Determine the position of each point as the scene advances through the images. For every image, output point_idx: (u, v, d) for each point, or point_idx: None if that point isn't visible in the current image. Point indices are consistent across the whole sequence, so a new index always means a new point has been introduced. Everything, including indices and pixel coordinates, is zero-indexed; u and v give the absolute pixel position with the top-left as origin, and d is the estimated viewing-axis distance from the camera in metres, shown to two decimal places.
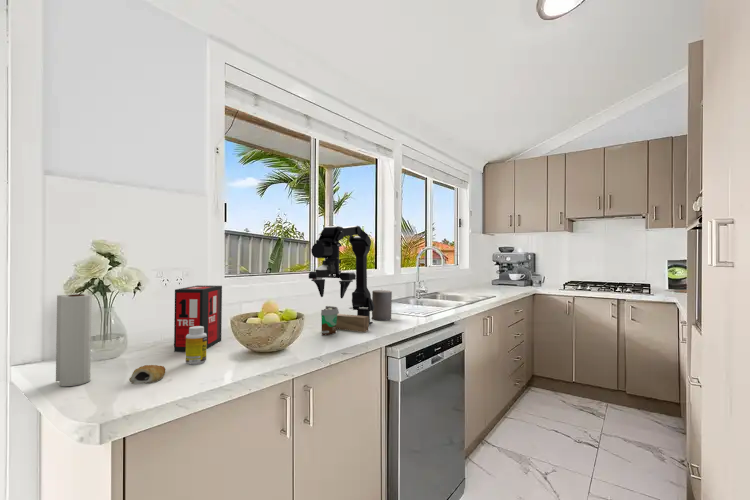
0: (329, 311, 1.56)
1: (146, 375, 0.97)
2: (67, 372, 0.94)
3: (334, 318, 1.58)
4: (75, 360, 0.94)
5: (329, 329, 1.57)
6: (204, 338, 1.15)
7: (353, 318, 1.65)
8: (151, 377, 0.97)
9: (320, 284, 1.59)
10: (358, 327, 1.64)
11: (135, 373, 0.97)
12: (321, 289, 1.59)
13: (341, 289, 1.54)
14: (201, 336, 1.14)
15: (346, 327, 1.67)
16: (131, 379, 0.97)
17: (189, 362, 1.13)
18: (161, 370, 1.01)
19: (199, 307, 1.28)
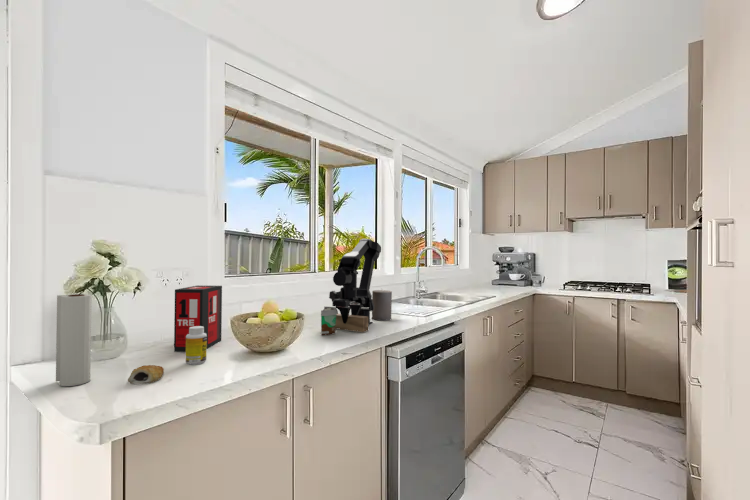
0: (329, 311, 1.56)
1: (145, 376, 0.97)
2: (67, 372, 0.94)
3: (333, 318, 1.58)
4: (75, 360, 0.94)
5: (329, 329, 1.57)
6: (204, 338, 1.15)
7: (352, 318, 1.65)
8: (150, 377, 0.97)
9: (352, 309, 1.72)
10: (357, 327, 1.64)
11: (134, 373, 0.97)
12: (352, 314, 1.71)
13: None
14: (201, 336, 1.14)
15: (346, 327, 1.67)
16: (130, 379, 0.96)
17: (189, 362, 1.13)
18: (160, 370, 1.01)
19: (199, 307, 1.28)
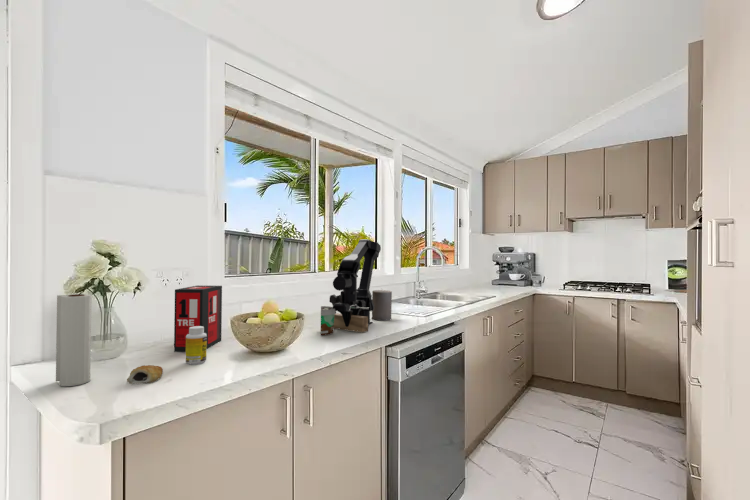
0: (328, 311, 1.56)
1: (144, 376, 0.97)
2: (67, 372, 0.94)
3: (332, 318, 1.58)
4: (75, 360, 0.94)
5: (328, 329, 1.57)
6: (204, 338, 1.15)
7: (352, 318, 1.65)
8: (150, 377, 0.97)
9: None
10: (357, 327, 1.64)
11: (133, 373, 0.97)
12: None
13: None
14: (201, 336, 1.14)
15: (345, 327, 1.67)
16: (129, 379, 0.96)
17: (189, 362, 1.13)
18: (159, 370, 1.01)
19: (199, 307, 1.28)
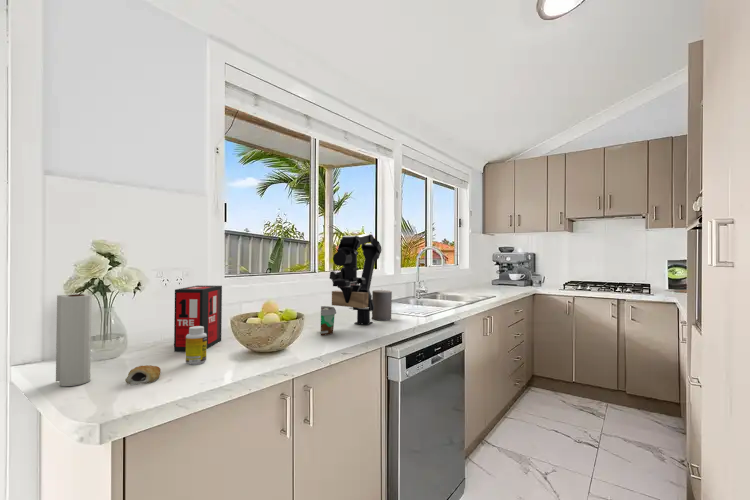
0: (328, 311, 1.56)
1: (142, 376, 0.97)
2: (67, 372, 0.94)
3: (332, 318, 1.58)
4: (75, 360, 0.94)
5: (328, 329, 1.57)
6: (204, 338, 1.15)
7: (352, 294, 1.65)
8: (148, 377, 0.97)
9: None
10: (357, 302, 1.64)
11: (131, 374, 0.96)
12: None
13: None
14: (201, 336, 1.14)
15: (346, 303, 1.67)
16: (127, 380, 0.96)
17: (189, 362, 1.13)
18: (157, 370, 1.01)
19: (199, 307, 1.28)
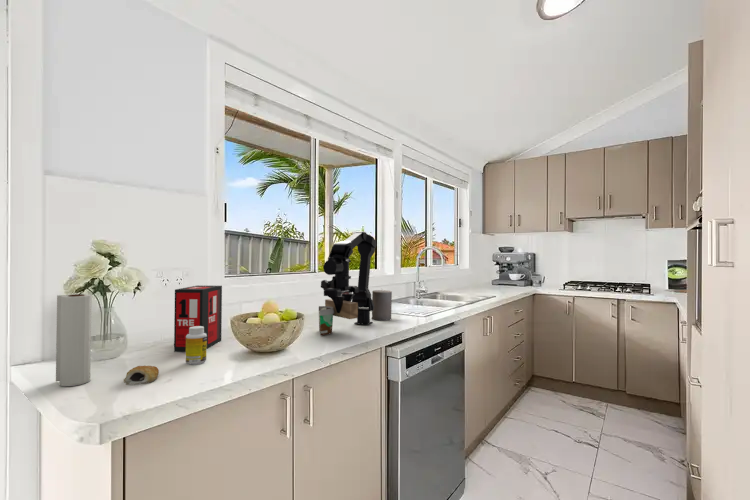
0: (327, 311, 1.56)
1: (141, 376, 0.97)
2: (67, 372, 0.94)
3: (331, 317, 1.58)
4: (75, 360, 0.94)
5: (327, 329, 1.57)
6: (204, 338, 1.15)
7: None
8: (147, 377, 0.97)
9: (344, 298, 1.65)
10: (345, 313, 1.57)
11: (130, 374, 0.96)
12: None
13: None
14: (201, 336, 1.14)
15: (336, 313, 1.62)
16: (126, 380, 0.96)
17: (189, 362, 1.13)
18: (155, 370, 1.00)
19: (199, 307, 1.28)
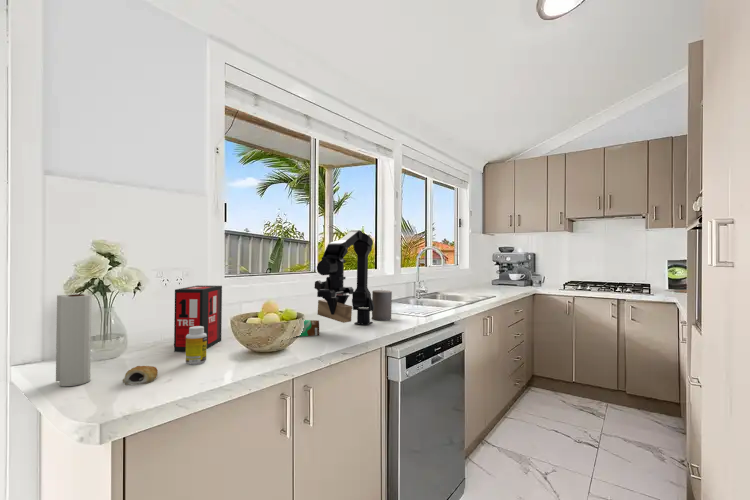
0: None
1: (140, 376, 0.97)
2: (67, 372, 0.94)
3: None
4: (75, 360, 0.94)
5: (313, 327, 1.55)
6: (204, 338, 1.15)
7: None
8: (146, 377, 0.97)
9: (338, 300, 1.61)
10: (339, 316, 1.54)
11: (129, 374, 0.96)
12: None
13: None
14: (201, 336, 1.14)
15: (329, 315, 1.58)
16: (125, 380, 0.96)
17: (189, 362, 1.13)
18: (154, 370, 1.00)
19: (199, 307, 1.28)
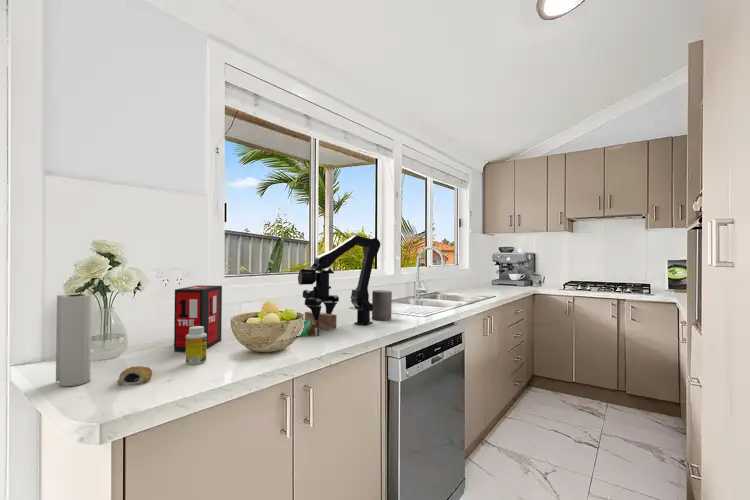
0: None
1: (135, 377, 0.96)
2: (67, 372, 0.94)
3: None
4: (75, 360, 0.94)
5: (313, 327, 1.55)
6: (204, 338, 1.15)
7: (321, 316, 1.70)
8: (142, 378, 0.96)
9: (327, 307, 1.78)
10: (325, 324, 1.69)
11: (124, 375, 0.95)
12: (327, 311, 1.77)
13: None
14: (201, 336, 1.14)
15: None
16: (120, 381, 0.95)
17: (189, 362, 1.13)
18: (149, 371, 1.00)
19: (199, 307, 1.28)
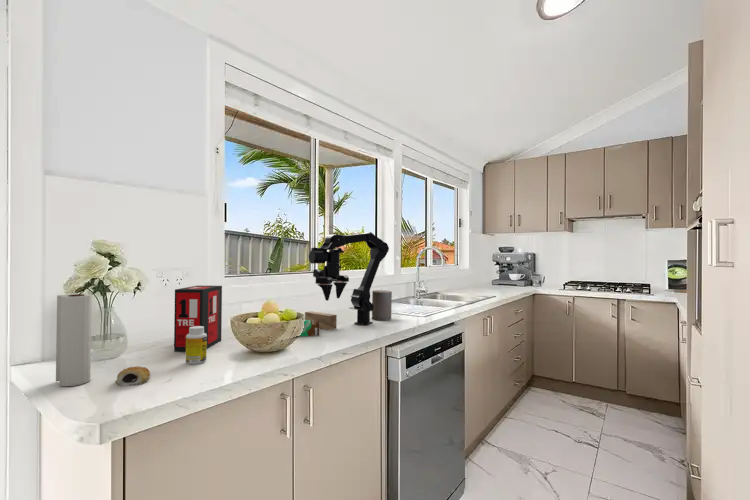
0: None
1: (134, 377, 0.96)
2: (67, 372, 0.94)
3: None
4: (75, 360, 0.94)
5: (313, 327, 1.55)
6: (204, 338, 1.15)
7: (321, 316, 1.70)
8: (140, 378, 0.96)
9: (337, 286, 1.78)
10: (325, 324, 1.69)
11: (122, 375, 0.95)
12: (337, 291, 1.77)
13: None
14: (201, 336, 1.14)
15: None
16: (118, 382, 0.95)
17: (189, 362, 1.13)
18: (147, 371, 1.00)
19: (199, 307, 1.28)
